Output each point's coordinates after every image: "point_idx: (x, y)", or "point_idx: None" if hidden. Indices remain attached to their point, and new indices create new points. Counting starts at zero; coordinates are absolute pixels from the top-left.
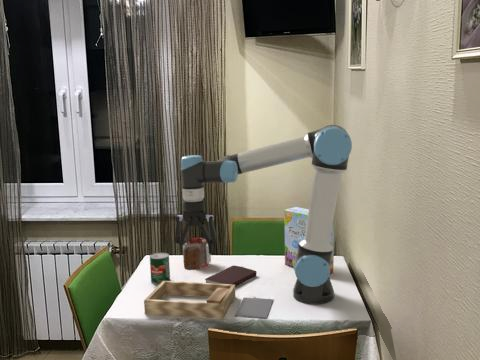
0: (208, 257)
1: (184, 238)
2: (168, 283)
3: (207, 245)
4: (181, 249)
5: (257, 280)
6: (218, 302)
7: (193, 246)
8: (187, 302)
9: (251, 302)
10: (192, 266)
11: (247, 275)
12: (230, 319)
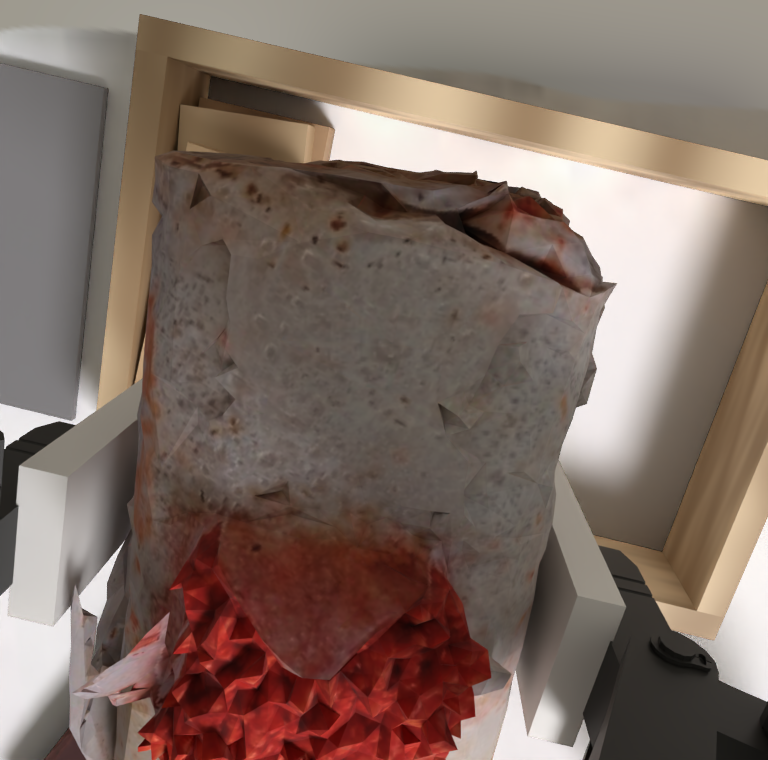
0: (138, 386)
1: (612, 731)
2: (662, 596)
3: (37, 492)
4: (628, 588)
5: (14, 711)
6: (202, 146)
7: (321, 227)
8: (476, 106)
9: (5, 325)
10: (402, 170)
11: (60, 745)
12: (135, 33)
